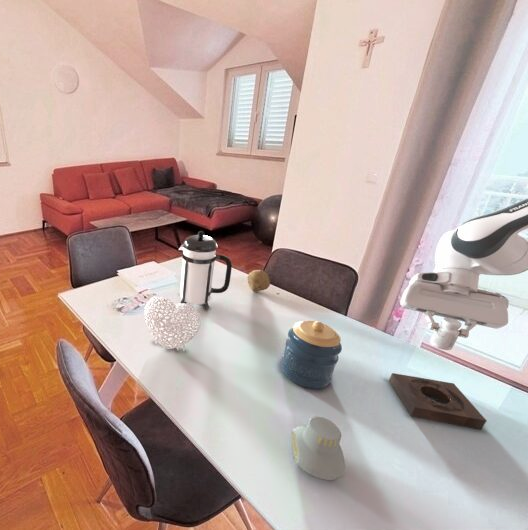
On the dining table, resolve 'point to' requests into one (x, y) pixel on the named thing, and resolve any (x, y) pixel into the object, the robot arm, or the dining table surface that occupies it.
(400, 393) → the socket pad
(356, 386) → the dining table surface
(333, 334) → the canister
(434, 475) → the dining table surface
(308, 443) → the air freshener
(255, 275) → the natural sponge
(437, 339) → the pill bottle
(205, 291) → the coffee press
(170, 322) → the decorative heart
